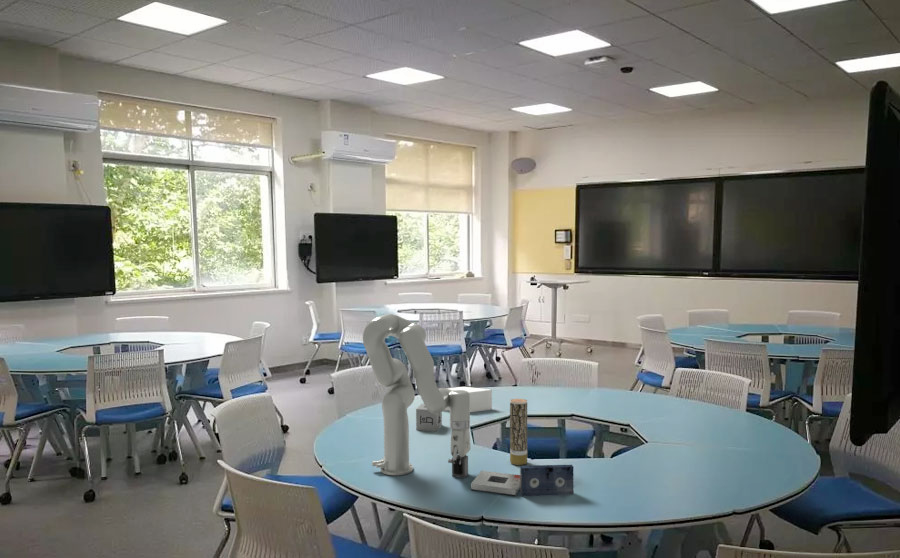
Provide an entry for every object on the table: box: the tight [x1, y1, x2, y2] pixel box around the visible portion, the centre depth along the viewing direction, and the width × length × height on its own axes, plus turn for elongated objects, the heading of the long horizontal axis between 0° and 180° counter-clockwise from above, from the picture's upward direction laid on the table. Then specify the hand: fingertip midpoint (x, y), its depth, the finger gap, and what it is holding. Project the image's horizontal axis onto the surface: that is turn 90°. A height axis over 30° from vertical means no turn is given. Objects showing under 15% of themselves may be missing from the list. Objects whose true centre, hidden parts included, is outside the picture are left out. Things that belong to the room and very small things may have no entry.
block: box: [444, 386, 493, 413], centre depth 317 cm, size 15×30×11 cm, turn 88°
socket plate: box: [470, 470, 520, 497], centre depth 213 cm, size 16×13×3 cm
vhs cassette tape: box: [519, 464, 575, 497], centre depth 206 cm, size 18×3×10 cm, turn 92°
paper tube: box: [509, 398, 528, 466], centre depth 236 cm, size 7×7×25 cm
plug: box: [447, 455, 469, 479], centre depth 224 cm, size 7×4×7 cm, turn 70°
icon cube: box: [415, 403, 443, 432], centre depth 285 cm, size 10×10×10 cm
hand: (460, 471), depth 224 cm, fingers closed on plug, 4 cm apart
